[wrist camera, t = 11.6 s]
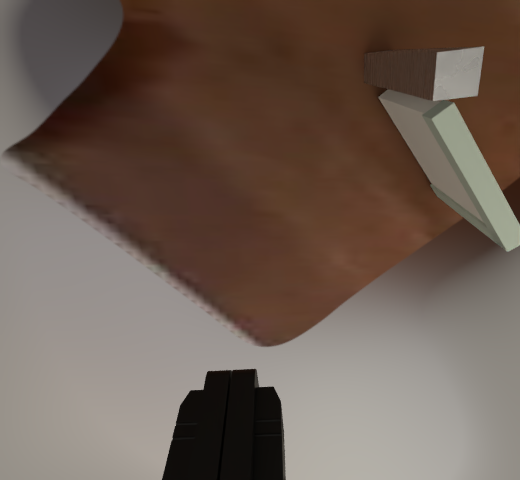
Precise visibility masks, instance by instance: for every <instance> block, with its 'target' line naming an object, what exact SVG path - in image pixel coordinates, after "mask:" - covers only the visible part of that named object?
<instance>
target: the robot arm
mask: <svg viewBox="0 0 520 480" xmlns="http://www.w3.org/2000/svg"><path fill="white" fill-rule="evenodd" d="M162 480H286V477H285V450H284V429H283V419H282V408H281V401H280V399H279V397H278V395H277V393H276V391H275V389H274V387H259V384H258V377H257V370H256V369H244V370H233V371H231V370H226V371H208V372H207V375H206V379H205V384H204V390H191V391H190V392H189V394H188V395H187V396H186V398H185V399H184V401H183V402H182V404H181V405H180V409H179V413H178V417H177V421H176V426H175V429H174V433H173V440H172V442H171V445H170V450H169V454H168V458H167V462H166V466H165V470H164V474H163V478H162Z"/></svg>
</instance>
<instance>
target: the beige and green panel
mask: <svg viewBox="0 0 520 480" xmlns="http://www.w3.org/2000/svg"><path fill="white" fill-rule="evenodd" d="M378 98H379V99H380V101H381V103H382V104H383V106H384V108H385V109H386V111H387V112H388V114H389V116H390V117H391V119H392V120H393V122H394V124H395V125H396V127H397V129H398V130H399V132H400V133H401V135H402V137H403V138H404V140H405V142H406V143H407V145H408V146H409V148H410V150H411V151H412V153H413V154H414V156H415V158H416V159H417V161H418V163H419V164H420V166H421V167H422V169H423V171H424V172H425V174H426V176H427V177H428V179H429V180H430V182H431V185H430V186H431V187H432V189H433V191H434V192H435V194H436V196H437V197H439V198H440V199H441V200H442V201H444V202H445V203H446V204H447V205H449V206H450V207H451V208H452V209H454V210H455V211H456V212H458V213H459V214H460V215H461V216H463V217H464V218H465V219H466V220H468V221H469V222H470V223H471V224H473V225H474V226H475V227H477V228H478V229H479V230H480V231H482V232H483V233H484V234H485V235H487V236H488V237H489V238H491V239H492V240H493V241H494V242H495V243H497V244H498V245H499V246H500V247H502V248H503V249H504V250H506V251H507V252H508V251H510V250H512V249H514V248H516V247H517V246H519V245H520V225H519V223H518V221H517V219H516V217H515V216H514V214H513V212H512V210H511V208H510V206H509V204H508V203H507V201H506V199H505V197H504V195H503V193H502V191H501V189H500V188H499V186H498V184H497V182H496V180H495V178H494V176H493V174H492V173H491V171H490V169H489V167H488V165H487V163H486V161H485V159H484V158H483V156H482V154H481V152H480V150H479V148H478V146H477V145H476V143H475V141H474V139H473V137H472V135H471V133H470V131H469V130H468V128H467V126H466V124H465V122H464V120H463V118H462V117H461V115H460V113H459V111H458V109H457V107H456V105H455V103H454V102H449V101H445V100H442V101H441V102H439V101H431V100H427V99H423V98H419V97H416V96H412V95H408V94H404V93H400V92H397V91H393V90H389V89H388V90H387V91H385V92H384V93H383V94H381V95H380V96H379V97H378Z"/></svg>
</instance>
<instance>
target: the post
mask: <svg viewBox="0 0 520 480" xmlns="http://www.w3.org/2000/svg"><path fill="white" fill-rule="evenodd" d="M483 52H484V47H459V48H431V49H404V50H388V51H380V52H372V53H364V83H366V84H370V85H374V86H378V87H382V88H385V89H389V90H393V91H397V92H400V93H404V94H408V95H412V96H416V97H419V98H423V99H427V100H431V101H438V100H446V99H455V98H463V97H472V96H478V88H479V81H480V74H481V67H482V60H483Z"/></svg>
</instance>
